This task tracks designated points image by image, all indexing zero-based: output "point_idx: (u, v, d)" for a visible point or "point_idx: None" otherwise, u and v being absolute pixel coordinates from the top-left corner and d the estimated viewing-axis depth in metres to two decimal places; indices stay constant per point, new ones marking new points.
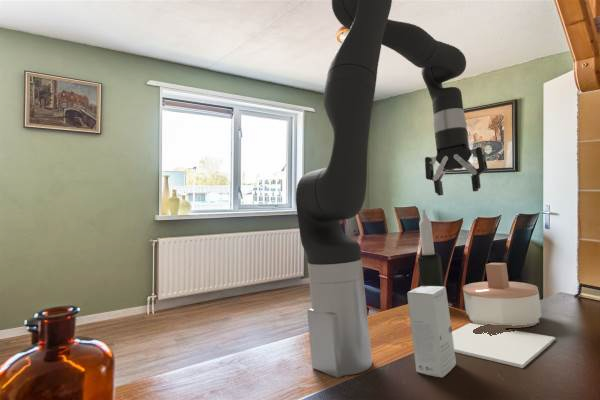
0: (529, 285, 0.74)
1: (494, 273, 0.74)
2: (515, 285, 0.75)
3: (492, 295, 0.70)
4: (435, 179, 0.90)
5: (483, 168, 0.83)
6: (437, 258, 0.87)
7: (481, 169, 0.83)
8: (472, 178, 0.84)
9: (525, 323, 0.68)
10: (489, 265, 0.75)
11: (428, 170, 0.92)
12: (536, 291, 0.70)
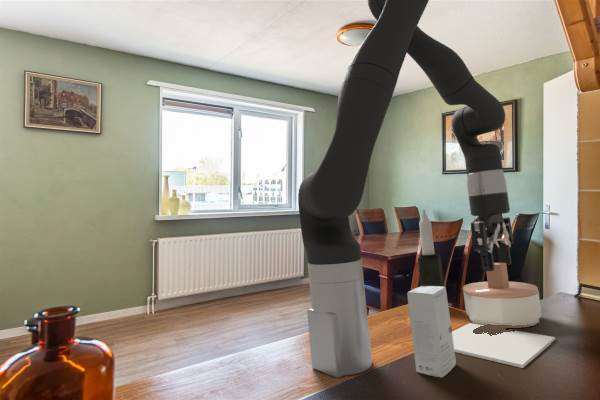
0: (529, 285, 0.74)
1: (494, 273, 0.74)
2: (515, 285, 0.75)
3: (492, 295, 0.70)
4: (491, 250, 0.72)
5: (513, 240, 0.79)
6: (437, 258, 0.87)
7: (512, 241, 0.79)
8: (508, 250, 0.77)
9: (525, 323, 0.68)
10: None
11: (486, 238, 0.71)
12: (536, 291, 0.70)
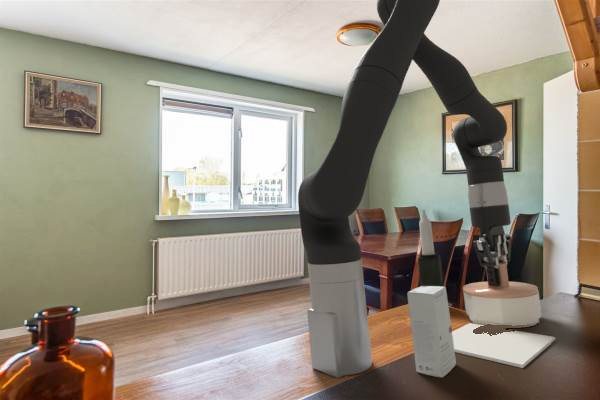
0: (529, 285, 0.74)
1: None
2: (515, 285, 0.75)
3: (492, 295, 0.70)
4: (497, 266, 0.73)
5: (509, 258, 0.77)
6: (437, 258, 0.87)
7: (509, 259, 0.77)
8: None
9: (525, 323, 0.68)
10: None
11: (491, 255, 0.72)
12: (536, 291, 0.70)
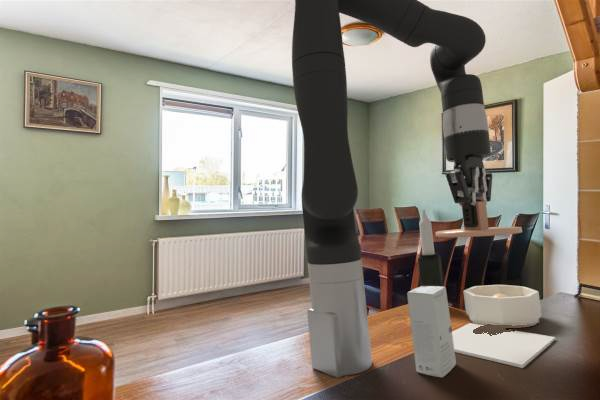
0: None
1: None
2: None
3: (467, 233, 0.58)
4: (474, 203, 0.62)
5: (490, 197, 0.66)
6: (437, 258, 0.87)
7: (489, 198, 0.66)
8: None
9: (525, 323, 0.68)
10: None
11: (466, 189, 0.60)
12: (519, 229, 0.58)
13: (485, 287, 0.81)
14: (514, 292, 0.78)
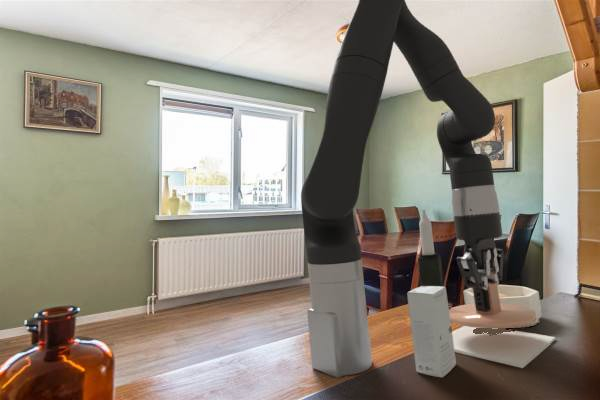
0: (525, 309, 0.61)
1: None
2: (508, 309, 0.63)
3: (480, 324, 0.57)
4: (486, 288, 0.60)
5: (501, 276, 0.65)
6: (437, 258, 0.87)
7: (501, 277, 0.64)
8: None
9: None
10: None
11: (478, 275, 0.59)
12: (533, 318, 0.57)
13: None
14: (514, 292, 0.78)
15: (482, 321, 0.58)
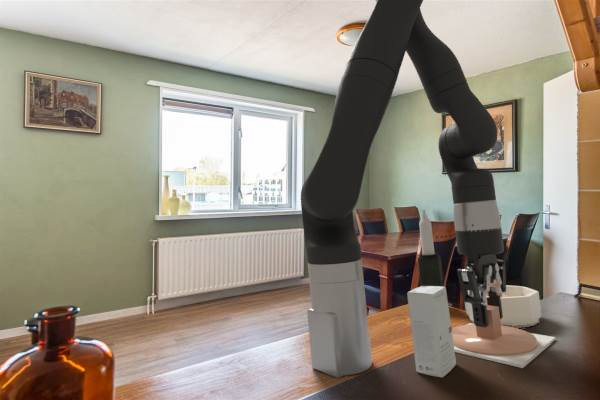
0: (526, 334, 0.61)
1: None
2: (509, 333, 0.62)
3: (480, 350, 0.57)
4: (485, 303, 0.60)
5: (505, 288, 0.65)
6: (437, 258, 0.87)
7: (504, 289, 0.65)
8: (500, 302, 0.63)
9: (525, 323, 0.68)
10: None
11: (477, 289, 0.59)
12: (534, 345, 0.57)
13: None
14: (514, 292, 0.78)
15: (483, 347, 0.57)
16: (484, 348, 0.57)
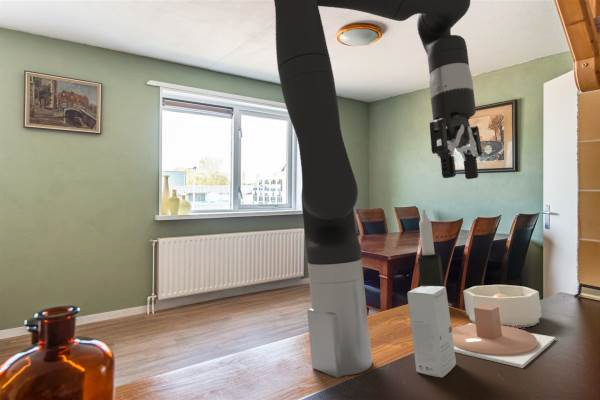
0: (526, 334, 0.61)
1: (484, 319, 0.61)
2: (509, 333, 0.63)
3: (481, 350, 0.57)
4: (452, 153, 0.62)
5: (481, 152, 0.69)
6: (437, 258, 0.87)
7: (480, 153, 0.69)
8: (475, 161, 0.68)
9: (525, 323, 0.68)
10: (478, 309, 0.62)
11: (445, 138, 0.61)
12: (535, 345, 0.57)
13: (485, 287, 0.81)
14: (514, 292, 0.78)
15: (483, 347, 0.57)
16: (484, 348, 0.57)
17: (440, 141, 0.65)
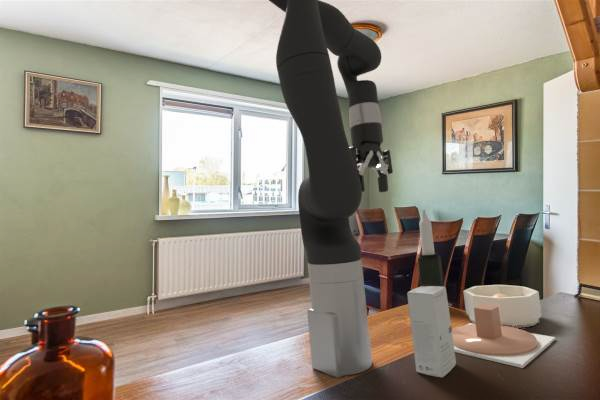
0: (526, 334, 0.61)
1: (484, 319, 0.61)
2: (509, 333, 0.63)
3: (481, 350, 0.57)
4: (361, 173, 0.80)
5: (392, 170, 0.87)
6: (437, 258, 0.87)
7: (391, 171, 0.87)
8: (385, 178, 0.85)
9: (525, 323, 0.68)
10: (478, 309, 0.62)
11: (355, 161, 0.79)
12: (535, 345, 0.57)
13: (485, 287, 0.81)
14: (514, 292, 0.78)
15: (483, 347, 0.57)
16: (484, 348, 0.57)
17: None
